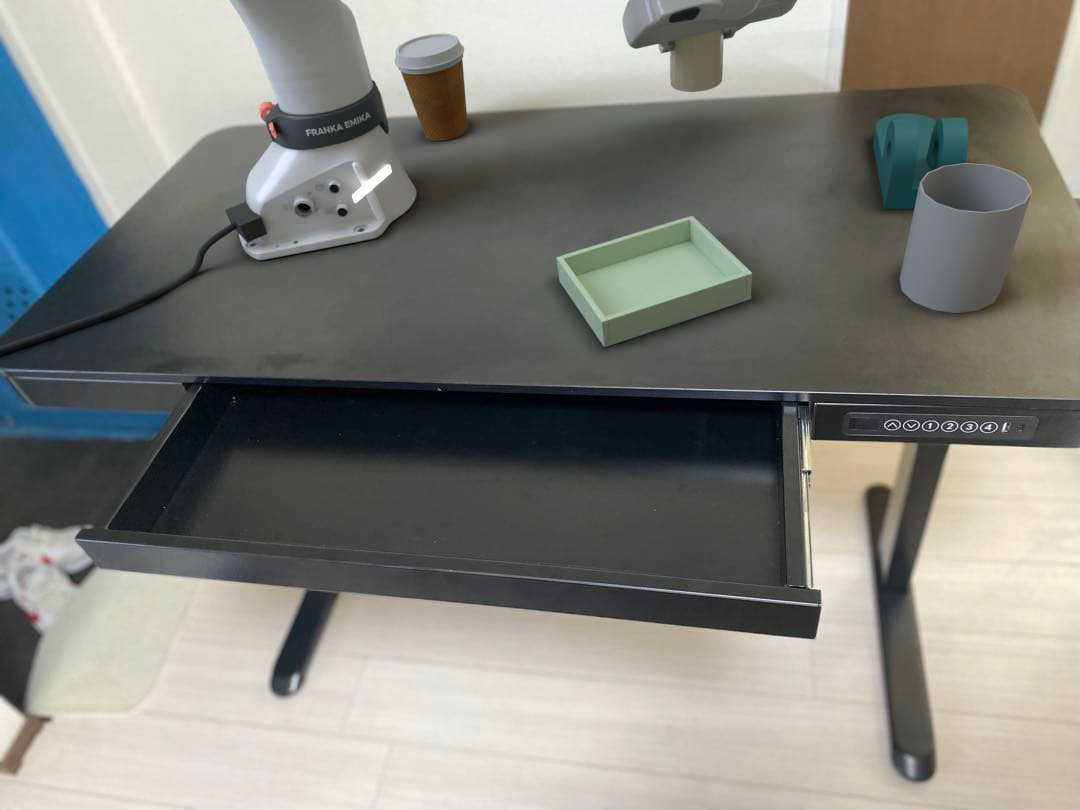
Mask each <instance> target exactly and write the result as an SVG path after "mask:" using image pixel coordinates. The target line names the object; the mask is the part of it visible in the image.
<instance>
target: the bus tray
mask: <svg viewBox="0 0 1080 810" xmlns="http://www.w3.org/2000/svg"><path fill="white" fill-rule="evenodd" d="M555 258H556V265H557V273H558V279H559V283H560V285H561V286H562V287H563V288H564V290H565V292H566V293H567V294H568V296H569V297H570V299H571V301H572V302H573V303H574V305H575V307H576V308H577V309H578V311H579V312H580V314H581V315H582V317H583V318H584V320H585V321H586V322H587V324H588V325H589V327H590V329H591V330H592V332H593V333H594V334H595V336H596V338H598V340H599V342H600V343H601V345H602V346H603V347H604V348H607V347H610V346H613V345H616V344H619V343H623V342H625V341H629V340H631V339H635V338H637V337H641V336H644V335H647V334H649V333H653V332H655V331H658V330H662V329H664V328H667V327H670V326H673V325H677V324H680V323H682V322H686V321H689V320H691V319H695V318H698V317H701V316H704V315H708V314H710V313H713V312H717V311H720V310H723V309H726V308H729V307H732V306H734V305H737V304H741V303H743V302H746V301H750V300H752V288H753V272H752V271H751V270H749V268H748V267H747V266H746V265H744V263H743V262H741V261H740V260H739V259H738V258H737V257H736V256H735V255H734V254H733V253H732V252H731V251H730V250H729V249H728V248H727V247H726V246H725V245H724V244H722V243H721V241H719V240H718V239H717V238H716V237H715V236H714V235H713V234H712V233H711V232H710V231H709V230H708V229H707V228H705V226H704V225H703V224H701V222H699V220H698V219H696V217H694V216H693V215H690V216H686V217H683V218H679V219H676V220H674V221H670V222H666V223H664V224H660V225H657V226H654V227H650V228H647V229H644V230H641V231H637V232H634V233H631V234H628V235H625V236H622V237H619V238H615V239H611V240H609V241H605V242H601V243H599V244H595V245H592V246H587V247H586V248H585V247H584V248H582V249H579V250H575V251H572V252H569V253H566V254H563V255H559V256H557V257H555Z"/></svg>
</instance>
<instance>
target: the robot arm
mask: <svg viewBox="0 0 1080 810" xmlns="http://www.w3.org/2000/svg"><path fill="white" fill-rule="evenodd" d="M228 1H229V2H230V4H231V5H232V6H233V8H234V9H235V11H236V12H237V14H238V16H239V17H240V19H241V21H242V22H243V25H244V26H245V27H246V30H247V31H248V33H249V35H250V37H251V39H252V41H253V43H254V46H255V47H256V51H257V52H258V55H259V58H260V60H261V62H262V65H263V68H264V70H265V71H264V72H265V73H266V75H267V79H268V81H269V84H270V87H271V89H272V92H273V94H274V97H275V100H276V104H275V103H273V102H271V101H263V102H262V103H261V104H260V105H259V106H260V107H259V108H258V109H259V115H260V118H261V120H262V121H263V122H264V123H265V125H266V128H267V131H268V134H269V136H270V139H271V140H272V142H270V144H269V146H268V147H267V148H266V150H265V151H264V153H263V154H262V155H261V156H260V158H259V159H258V161H257V162H256V163H255V165H254V166H253V167H252V168H251V170H250V172H249V174H248V175H247V179H246V183H245V200H246V201H244V202H241V203H239V204H236V205H234V206H231V207H229V208H227V209H224V211H225V214H226V216H227V218H228V220H229V222H230V224H228V225H227V226H226V227H224V228H222V229H221V230H219V231H218V232H217V233H215V234H213V235H212V236H210V238H207V240H206V241H205V242H204V243H203V244H202V246H200V248H199V250H198V251H197V254H196V258H195V262H194V264H193V266H192V267H190V269H189V270H188V271H186V272H185V273H184V274H183V275H182V276H180V277H179V278H177V279H176V280H174V281H172V282H171V283H169V284H167V285H165V286H162V287H160V288H158V289H155V290H153V291H150V292H147V293H144V294H143V295H140V296H138V297H135V298H133V299H130V300H129V301H126V302H124V303H122V304H119V305H117V306H114V307H112V308H108V309H106V310H103V311H100V312H98V313H94V314H92V315H88V316H85V317H82V318H79V319H76V320H74V321H71V322H68V323H64V324H62V325H59V326H56V327H53V328H50V329H48V330H47V329H46V330H44V331H42V332H38V333H36V334H32V335H30V336H29V335H28V336H27V337H23V338H20V339H18V340H14V341H11V342H8V343H5V344H3V345H0V355H1V354H3V353H6V352H11V351H13V350H16V349H18V348H22V347H25V346H29V345H31V344H35V343H36V342H37V343H38V342H40V341H42V340H45V339H48V338H51V337H54V336H58V335H60V334H64V333H65V332H69V331H72V330H74V329H75V330H76V329H77V328H81V327H82V326H86V325H89V324H92V323H95V322H99V321H101V320H104V319H108V318H110V317H113V316H115V315H118V314H120V313H123V312H126V311H128V310H130V309H132V308H135V307H137V306H140V305H142V304H144V303H146V302H148V301H151V300H153V299H156V298H158V297H161V296H163V295H165V294H167V293H169V292H171V291H173V290H174V289H176V288H178V287H179V286H181V285H182V284H184V283H186V282H188V281H189V280H190V279H192V278H193V277H195V275H196V274H197V273H198V272H199V271H200V269H201V267H202V265H203V263H204V258H205V255H206V254H207V251H209V249H210V248H211V247H212V246H213V245H215V244H216V243H217V242H218V241H220V240H221V239H223V238H225V237H226V236H228V235H229V234H231V233H232V232H233V231H236V232H237V233H238V236H239V241H240V243H241V246H242V248H243V250H244V251H245V253H246V254H247V255H248V256H249V257H251V258H252V259H255V260H257V261H265V260H271V259H274V258H280V257H286V256H291V255H296V254H301V253H302V254H303V253H307V252H312V251H317V250H322V249H327V248H332V247H338V246H343V245H348V244H352V243H353V244H354V243H359V242H363V241H364V242H365V241H370V240H374V239H377V238H378V237H381V235H383V233H385V231H386V230H387V229H388V227H389V225H390V224H391V223H393V222H394V221H396V219H398V218H399V217H401V216H402V215H404V214H405V213H407V211H408V210H409V209H410V208H411V207H412V206H413V204H414V203H415V201H416V199H417V194H418V193H417V189H416V186H415V185H414V182H412V180H411V179H410V177H409V175H408V173H407V171H406V170H405V168H404V166H403V164H402V162H401V160H400V158H399V155H398V152H397V151H396V148H395V146H394V143H393V140H392V138H391V136H390V126H389V123H390V122H389V118H388V115H387V110H386V107H385V103H384V99H383V96H382V93H381V90H379V87H378V85H377V82H376V81H375V80H373V78H372V75H371V71H370V68H369V67H370V66H369V64H368V60H367V56H366V54H365V50H364V46H363V43H362V39H361V36H360V32H359V28H358V24H357V20H356V17H355V15H354V13H353V10H352V9H351V8H350V7H349V5H348V4H346V3H344V2H343V1H342V0H228ZM797 2H798V0H628V1H627V3H626V6H625V7H624V11H623V13H622V18H621V19H622V21H621V23H622V27H623V28H622V29H623V33H624V37H625V39H626V42H627V44H628V46H629V47H631V48H632V49H634V50H638V49H642V48H646V47H652V46H655V45H657V46H658V49H659V53H660V54H666V53H670V51H673V48H674V47H675V41H674V40H678V39H682V38H687V37H691V36H696V35H700V34H705V33H709V32H714V31H718V30H723V29H724V40H728V39H731V38H732V39H733V38H734V36H735V34H736V33H737V32H739V31H740V30H742V29H744V28H745V27H746V26H748V25H749V24H753V23H758V22H763V21H767V20H771V19H777V18H781V17H783V16H784V15H786V14H787V13H790V12H791V11H792V9H793V8H794V7H795V5H796V3H797Z"/></svg>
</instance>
